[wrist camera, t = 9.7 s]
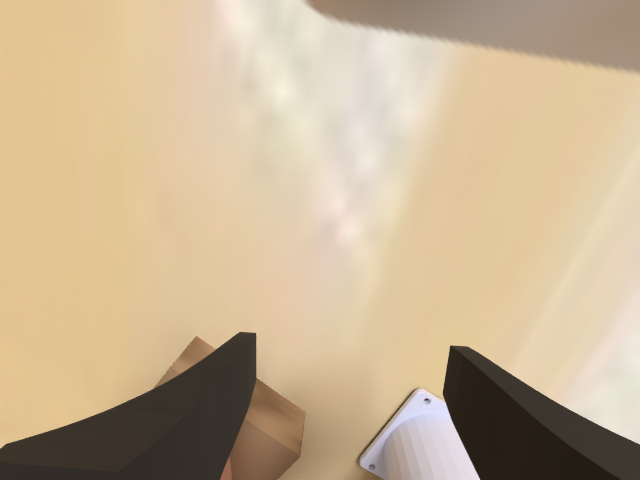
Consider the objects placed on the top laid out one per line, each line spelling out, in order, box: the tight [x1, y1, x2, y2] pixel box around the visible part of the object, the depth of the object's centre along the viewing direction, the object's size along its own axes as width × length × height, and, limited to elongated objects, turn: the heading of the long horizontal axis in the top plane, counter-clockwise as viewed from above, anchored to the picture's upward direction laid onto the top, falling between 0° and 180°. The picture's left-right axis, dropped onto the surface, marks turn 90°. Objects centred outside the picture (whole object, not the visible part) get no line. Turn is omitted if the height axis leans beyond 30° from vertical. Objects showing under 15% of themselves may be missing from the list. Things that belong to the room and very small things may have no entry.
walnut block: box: [155, 336, 305, 480], centre depth 22 cm, size 10×10×4 cm
